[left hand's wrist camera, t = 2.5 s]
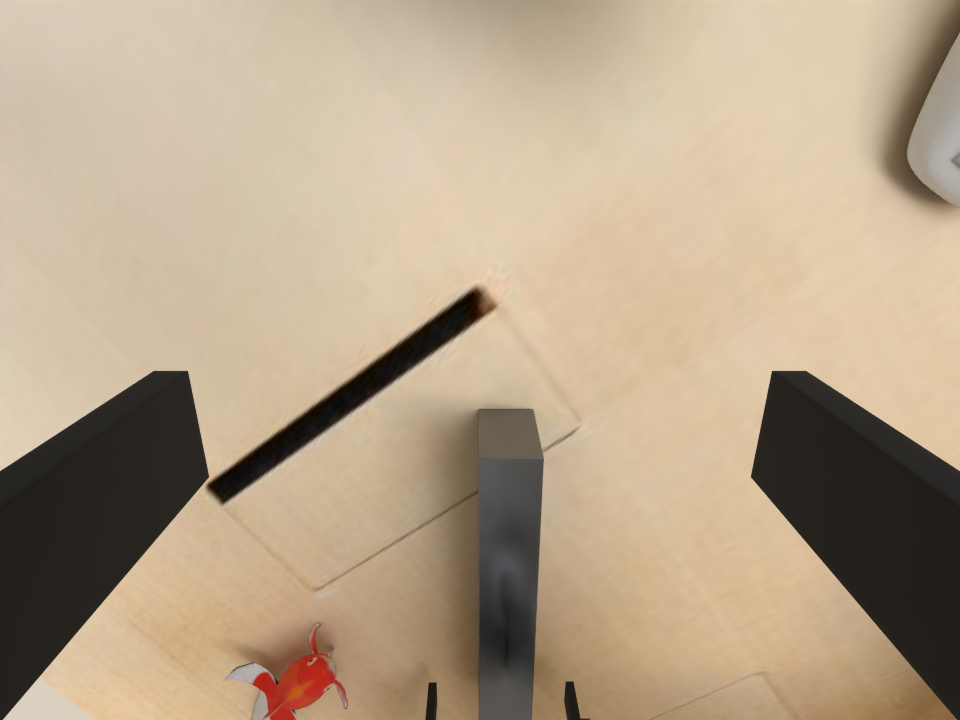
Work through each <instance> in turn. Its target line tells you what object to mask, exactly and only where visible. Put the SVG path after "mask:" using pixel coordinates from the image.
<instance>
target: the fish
mask: <svg viewBox="0 0 960 720" xmlns="http://www.w3.org/2000/svg"><path fill="white" fill-rule="evenodd" d="M318 627H320V623H316V624H315V626H314V627H313V628H312V631H311V633H310V636H309V644H310V648H311V651H312V655H308V656H305V657H303V658H301V659H299V660H298V661H296V662H295V663H293V664H292V665H291V666H290V667H289V668H288V669H287V670H286V672H285V673H284V674H283V676H282V677H281V679H280V681H279V682H278V681H277V680H276V679H275V678H274V677H273V675H272V674H271V673H270V672H269V671H268V670H267V669H265V668H263V667H262V666H260V665H258V664H256V663H254V662H253V663H250V664H246V665H243V666H239V667H237V668H236V669H234V670H233V671H232V672H231V673H230V674H229V675H228V676H227V677H226V678H225V679H224V680H240V681H245V682H248V683H250V684H252V685H254V686H256V687H257V688H259V689H260V693H259V695H258V698H257V700H256V703H255V706H254V708H253V712H252V717H251V720H298V719H297V717H296V714H295V711H294V710H295V709H300V708H304V707H307V706H309V705H311V704H312V703H313V702H315V701H316V700H318V699H319V698H320V697H321V696H322V695H323V693H325V692H326V691H327V690H328V689H329V688H330V687H331V685H332V684H333V683H334V684H336V686H337V690H338V693H339V695H340V697H341V700H342V702H343V705H344V708H345V709H347V706H348V702H347V698H346V693H345V689H344V688H343V687H342V685H341V683H340V682H338V681H337V680H336V679H335V678H336V666H335V663H334V660H333V659H332V658H331V657H332V655H333V653H335V650H333V651H332V652H331V653H329V654H328V655H326V654H319V653H318V650H317V645H316V637H315V633H316V629H317V628H318ZM224 680H223V681H224Z"/></svg>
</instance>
